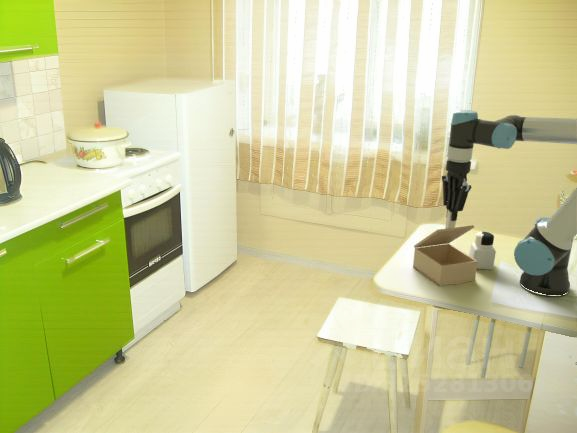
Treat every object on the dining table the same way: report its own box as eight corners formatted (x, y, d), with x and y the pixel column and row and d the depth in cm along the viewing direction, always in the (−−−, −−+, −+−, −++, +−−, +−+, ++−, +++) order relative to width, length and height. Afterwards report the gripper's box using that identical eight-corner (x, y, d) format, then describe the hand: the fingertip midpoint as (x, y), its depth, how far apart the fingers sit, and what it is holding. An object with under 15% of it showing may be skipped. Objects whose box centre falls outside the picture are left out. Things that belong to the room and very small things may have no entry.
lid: (474, 227, 202) (473, 225, 202) (438, 232, 197) (437, 229, 197) (448, 243, 216) (448, 241, 216) (414, 247, 211) (413, 245, 211)
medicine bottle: (489, 261, 220) (493, 230, 216) (493, 270, 213) (498, 237, 209) (468, 260, 220) (472, 229, 216) (472, 268, 213) (476, 236, 209)
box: (475, 280, 204) (477, 261, 202) (439, 286, 199) (441, 266, 197) (446, 262, 218) (449, 243, 216) (412, 266, 213) (414, 248, 211)
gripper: (481, 163, 190) (471, 234, 198) (456, 153, 202) (448, 221, 210) (461, 165, 188) (452, 237, 196) (437, 155, 199) (429, 223, 207)
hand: (450, 228), depth 203 cm, fingers closed
